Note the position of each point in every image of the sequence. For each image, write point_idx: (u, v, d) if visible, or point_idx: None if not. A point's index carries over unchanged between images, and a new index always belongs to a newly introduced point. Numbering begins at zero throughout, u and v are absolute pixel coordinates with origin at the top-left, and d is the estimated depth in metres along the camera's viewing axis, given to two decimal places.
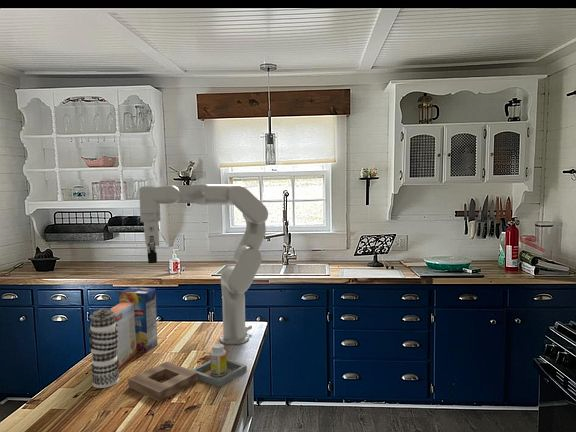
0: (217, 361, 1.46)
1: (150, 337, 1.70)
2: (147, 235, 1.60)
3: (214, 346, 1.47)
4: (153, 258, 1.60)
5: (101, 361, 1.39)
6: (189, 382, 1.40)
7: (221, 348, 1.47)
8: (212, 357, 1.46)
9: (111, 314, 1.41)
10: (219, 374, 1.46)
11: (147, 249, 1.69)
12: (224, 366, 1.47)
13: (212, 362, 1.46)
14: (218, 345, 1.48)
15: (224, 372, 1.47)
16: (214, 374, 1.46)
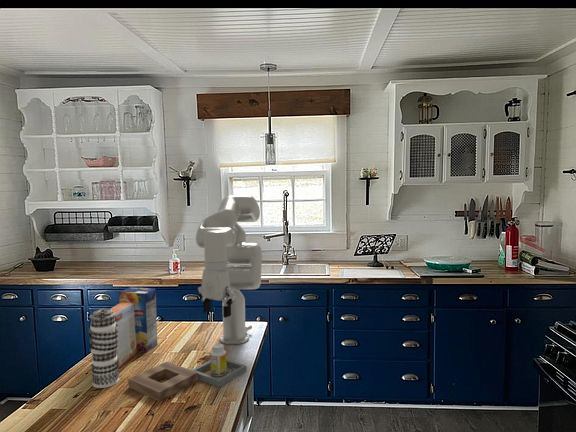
0: (217, 361, 1.46)
1: (150, 337, 1.70)
2: None
3: (214, 346, 1.47)
4: None
5: (101, 361, 1.39)
6: (189, 382, 1.40)
7: (221, 348, 1.47)
8: (212, 357, 1.46)
9: (111, 314, 1.41)
10: (219, 374, 1.46)
11: None
12: (224, 366, 1.47)
13: (212, 362, 1.46)
14: (218, 345, 1.48)
15: (224, 372, 1.47)
16: (214, 374, 1.46)
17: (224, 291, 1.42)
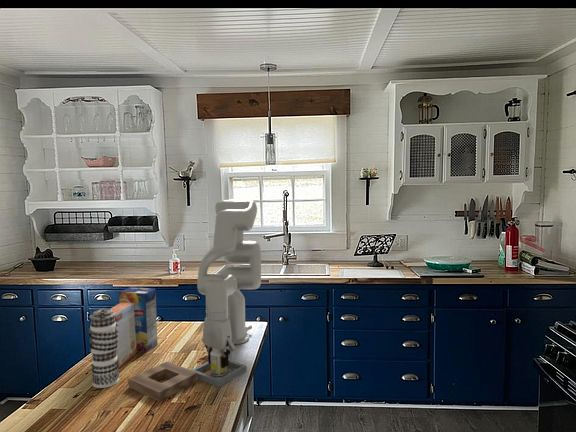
0: (217, 361, 1.46)
1: (150, 337, 1.70)
2: None
3: None
4: None
5: (101, 361, 1.39)
6: (189, 382, 1.40)
7: None
8: (212, 357, 1.46)
9: (111, 314, 1.41)
10: (219, 374, 1.46)
11: None
12: None
13: (212, 362, 1.46)
14: None
15: (224, 372, 1.47)
16: (214, 374, 1.46)
17: (225, 344, 1.44)
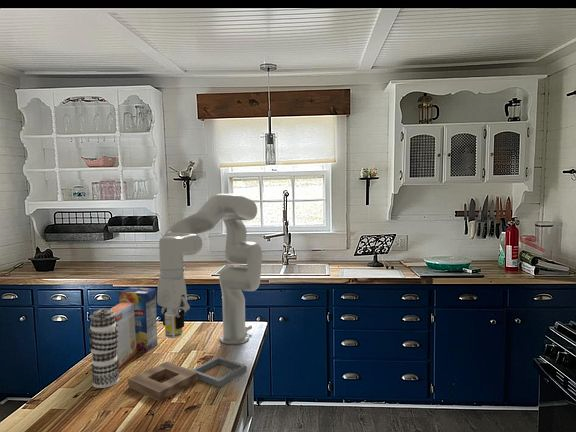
0: (171, 322, 1.38)
1: (150, 337, 1.70)
2: None
3: None
4: None
5: (101, 361, 1.39)
6: (189, 382, 1.40)
7: None
8: (166, 318, 1.39)
9: (111, 314, 1.41)
10: (174, 336, 1.39)
11: None
12: None
13: (166, 323, 1.39)
14: None
15: (179, 334, 1.40)
16: (168, 336, 1.39)
17: (180, 303, 1.37)
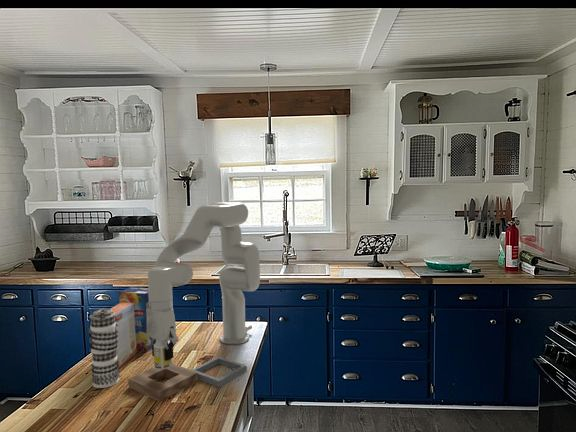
0: (160, 354, 1.38)
1: None
2: None
3: None
4: None
5: (101, 361, 1.39)
6: (189, 382, 1.40)
7: None
8: (155, 349, 1.38)
9: (111, 314, 1.41)
10: (163, 367, 1.38)
11: None
12: None
13: (155, 354, 1.38)
14: None
15: (168, 365, 1.39)
16: (157, 367, 1.38)
17: (168, 335, 1.36)
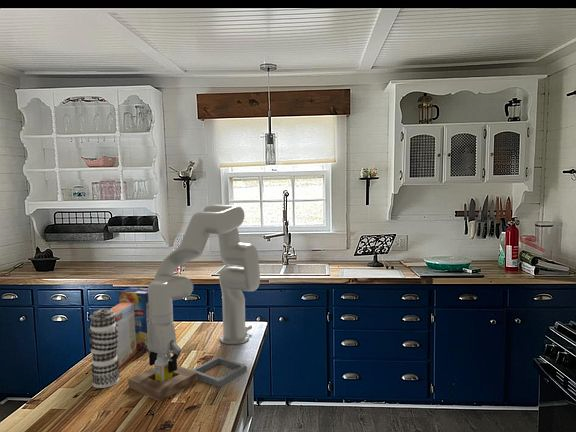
0: (161, 372, 1.38)
1: None
2: None
3: (159, 355, 1.40)
4: None
5: (101, 361, 1.39)
6: (189, 382, 1.40)
7: (166, 357, 1.40)
8: (156, 367, 1.39)
9: (111, 314, 1.41)
10: None
11: (175, 358, 1.39)
12: (169, 376, 1.40)
13: (156, 372, 1.39)
14: None
15: None
16: None
17: (169, 346, 1.36)
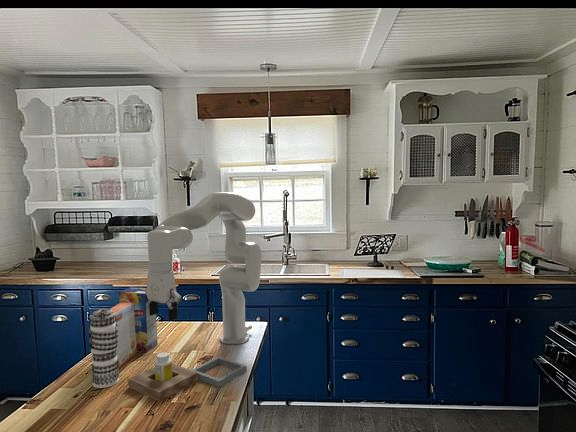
0: (161, 371, 1.39)
1: (150, 337, 1.70)
2: None
3: (159, 355, 1.40)
4: None
5: (101, 361, 1.39)
6: (189, 382, 1.40)
7: (165, 357, 1.40)
8: (156, 367, 1.39)
9: (111, 314, 1.41)
10: None
11: None
12: (169, 376, 1.40)
13: (156, 372, 1.39)
14: (163, 354, 1.41)
15: None
16: None
17: (169, 293, 1.36)
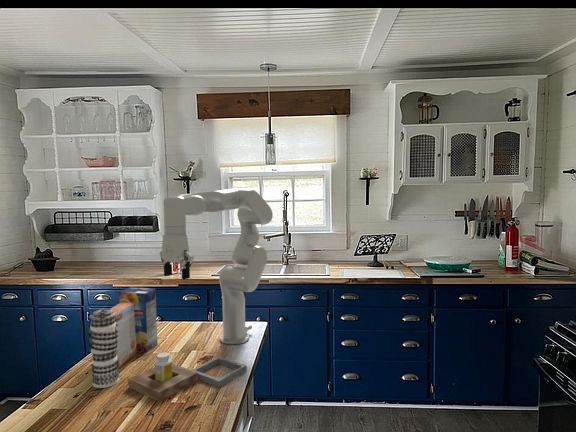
0: (161, 372, 1.38)
1: (150, 337, 1.70)
2: None
3: (159, 355, 1.40)
4: None
5: (101, 361, 1.39)
6: (189, 382, 1.40)
7: (166, 357, 1.40)
8: (156, 367, 1.39)
9: (111, 314, 1.41)
10: None
11: None
12: (169, 376, 1.40)
13: (156, 372, 1.39)
14: (163, 354, 1.41)
15: None
16: None
17: (182, 254, 1.48)
